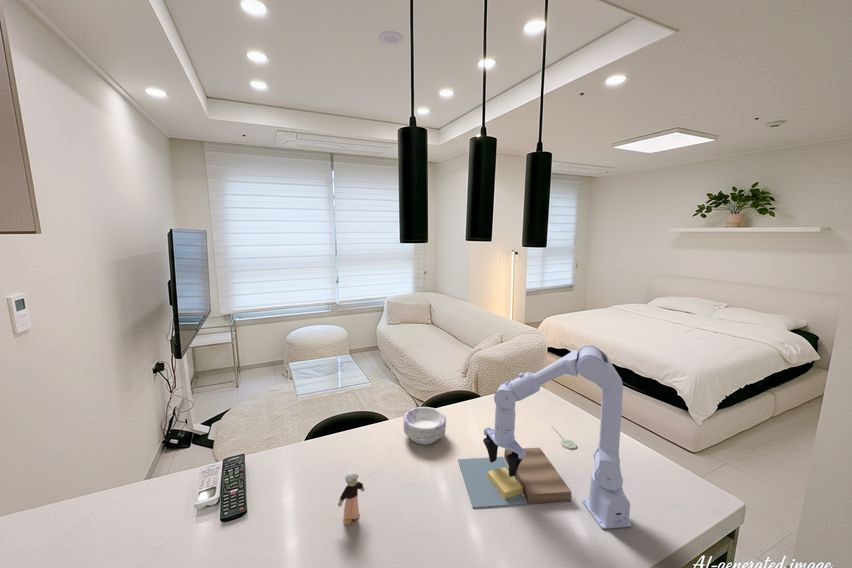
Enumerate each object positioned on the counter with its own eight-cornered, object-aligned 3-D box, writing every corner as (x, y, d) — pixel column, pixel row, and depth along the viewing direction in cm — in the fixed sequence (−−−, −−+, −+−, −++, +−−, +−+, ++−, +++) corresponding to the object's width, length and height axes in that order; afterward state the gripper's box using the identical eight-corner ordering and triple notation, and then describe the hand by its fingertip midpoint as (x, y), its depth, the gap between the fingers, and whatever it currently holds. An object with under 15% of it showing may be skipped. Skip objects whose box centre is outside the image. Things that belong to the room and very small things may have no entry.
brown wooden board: (570, 501, 94) (571, 491, 94) (528, 504, 93) (529, 494, 92) (539, 455, 114) (539, 447, 113) (504, 457, 112) (504, 449, 112)
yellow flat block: (522, 493, 96) (522, 487, 96) (504, 499, 94) (504, 492, 94) (504, 473, 104) (504, 467, 104) (487, 477, 102) (487, 471, 102)
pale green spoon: (557, 424, 133) (579, 447, 118) (557, 426, 133) (579, 449, 118) (545, 425, 132) (565, 448, 117) (545, 427, 132) (565, 450, 117)
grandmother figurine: (347, 531, 83) (346, 483, 82) (336, 524, 85) (335, 477, 84) (368, 510, 90) (368, 466, 88) (357, 504, 92) (357, 460, 90)
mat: (526, 504, 93) (527, 503, 93) (472, 508, 91) (472, 507, 91) (502, 457, 112) (502, 456, 112) (457, 460, 111) (458, 459, 111)
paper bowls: (448, 449, 117) (448, 427, 116) (403, 450, 116) (403, 428, 114) (442, 425, 132) (443, 405, 131) (403, 426, 131) (403, 406, 130)
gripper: (533, 432, 96) (531, 476, 98) (495, 411, 108) (494, 450, 110) (517, 440, 92) (514, 486, 94) (479, 417, 104) (478, 458, 106)
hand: (502, 467), depth 102 cm, fingers open, 7 cm apart
